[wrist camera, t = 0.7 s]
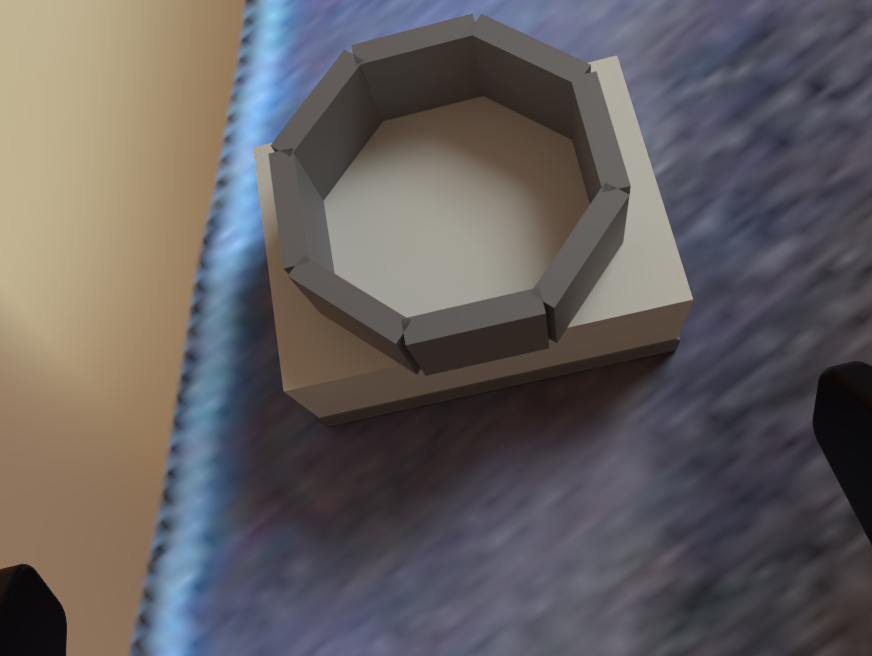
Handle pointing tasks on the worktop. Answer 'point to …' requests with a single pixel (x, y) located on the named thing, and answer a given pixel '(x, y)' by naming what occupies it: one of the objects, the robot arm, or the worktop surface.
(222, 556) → the worktop surface
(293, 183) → the octagonal ring tray
